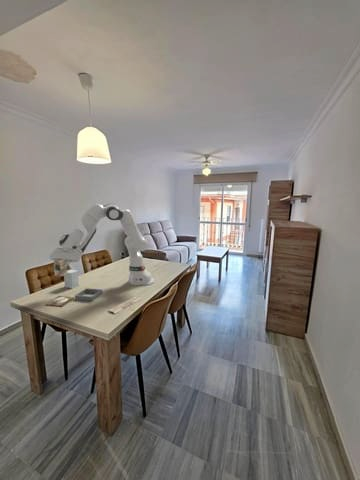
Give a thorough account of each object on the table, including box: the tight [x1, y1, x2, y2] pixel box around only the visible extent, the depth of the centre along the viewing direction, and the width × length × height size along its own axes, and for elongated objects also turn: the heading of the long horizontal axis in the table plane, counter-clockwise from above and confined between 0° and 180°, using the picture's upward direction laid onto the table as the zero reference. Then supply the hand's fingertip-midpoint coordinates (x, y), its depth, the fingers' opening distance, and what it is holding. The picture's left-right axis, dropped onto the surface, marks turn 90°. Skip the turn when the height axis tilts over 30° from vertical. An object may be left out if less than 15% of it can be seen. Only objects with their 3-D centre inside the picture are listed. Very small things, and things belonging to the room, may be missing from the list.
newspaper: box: [108, 296, 142, 315], centre depth 133 cm, size 24×7×2 cm, turn 149°
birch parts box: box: [53, 259, 68, 277], centre depth 132 cm, size 5×5×10 cm
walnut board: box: [44, 295, 75, 307], centre depth 136 cm, size 12×12×1 cm
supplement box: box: [63, 269, 80, 289], centre depth 161 cm, size 7×7×13 cm
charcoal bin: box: [74, 287, 103, 302], centre depth 144 cm, size 13×13×3 cm
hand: (59, 266), depth 132 cm, fingers closed on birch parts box, 5 cm apart
